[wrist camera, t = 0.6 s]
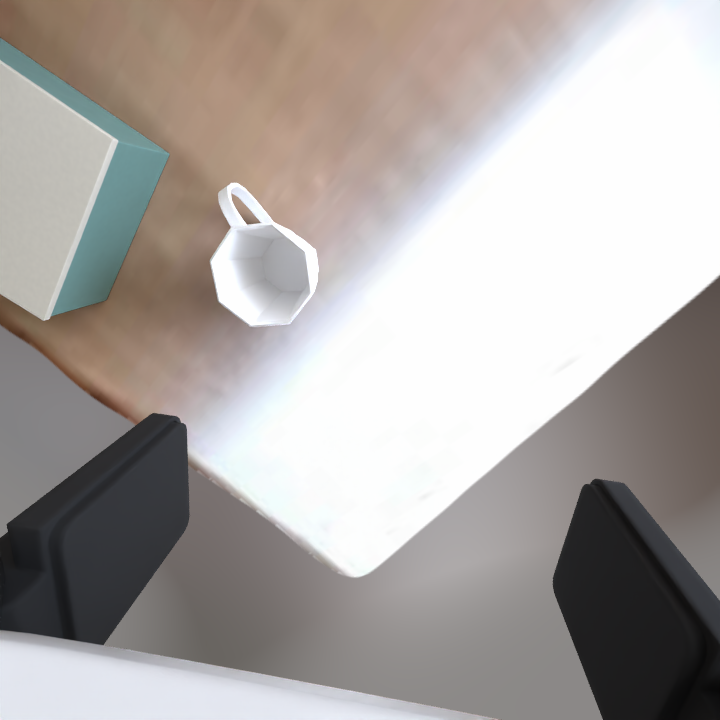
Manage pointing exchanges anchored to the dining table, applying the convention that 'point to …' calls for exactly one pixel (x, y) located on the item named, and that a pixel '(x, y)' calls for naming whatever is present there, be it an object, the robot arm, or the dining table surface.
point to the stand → (65, 190)
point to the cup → (261, 266)
